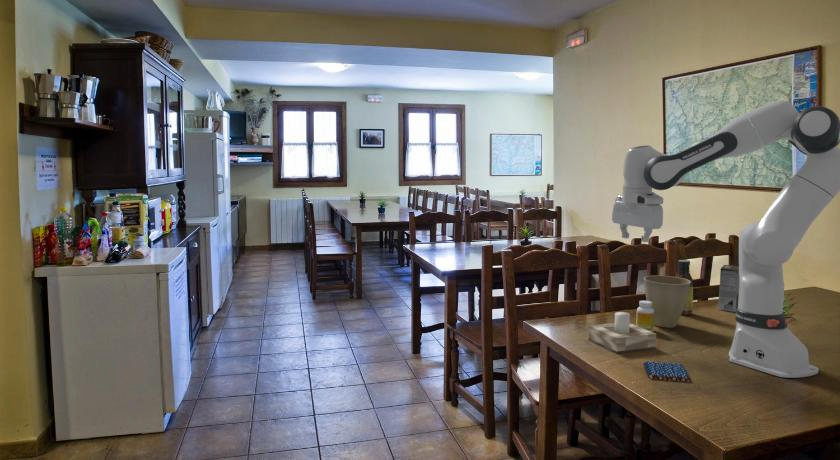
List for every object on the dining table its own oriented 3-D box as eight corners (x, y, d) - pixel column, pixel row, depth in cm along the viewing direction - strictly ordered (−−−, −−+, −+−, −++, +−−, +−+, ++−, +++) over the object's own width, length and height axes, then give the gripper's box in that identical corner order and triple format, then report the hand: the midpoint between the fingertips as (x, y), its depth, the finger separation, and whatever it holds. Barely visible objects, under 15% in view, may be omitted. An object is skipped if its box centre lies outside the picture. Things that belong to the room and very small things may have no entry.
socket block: (655, 348, 179) (656, 333, 179) (616, 353, 175) (617, 338, 174) (625, 335, 193) (626, 321, 192) (588, 339, 188) (589, 325, 188)
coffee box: (721, 304, 232) (724, 264, 231) (740, 307, 229) (742, 266, 227) (717, 309, 225) (719, 267, 223) (736, 312, 221) (739, 269, 219)
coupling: (621, 346, 180) (622, 317, 179) (608, 342, 183) (609, 314, 182) (634, 341, 184) (635, 313, 183) (621, 338, 188) (622, 310, 187)
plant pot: (675, 333, 195) (678, 286, 193) (633, 324, 206) (635, 279, 204) (696, 325, 204) (698, 279, 202) (654, 316, 215) (656, 273, 213)
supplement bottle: (654, 332, 195) (655, 304, 194) (637, 332, 197) (638, 303, 195) (651, 328, 201) (652, 300, 200) (634, 327, 202) (636, 299, 201)
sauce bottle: (693, 312, 221) (696, 260, 218) (691, 316, 215) (694, 262, 213) (674, 310, 224) (677, 258, 222) (671, 314, 219) (674, 261, 217)
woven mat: (691, 384, 153) (691, 376, 152) (647, 380, 155) (648, 373, 155) (683, 369, 163) (683, 362, 162) (642, 367, 165) (642, 360, 165)
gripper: (608, 195, 198) (606, 236, 199) (650, 199, 179) (648, 244, 180) (623, 195, 200) (622, 235, 201) (667, 198, 181) (665, 243, 182)
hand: (635, 240), depth 191 cm, fingers open, 8 cm apart
